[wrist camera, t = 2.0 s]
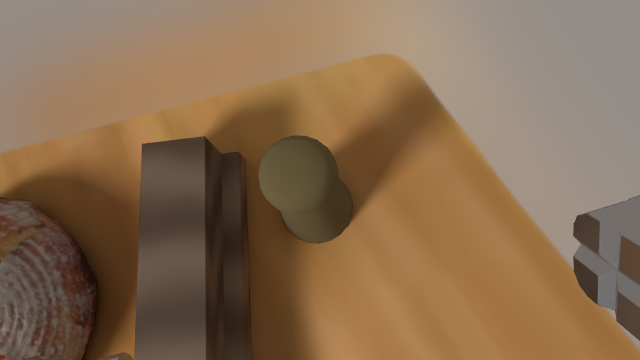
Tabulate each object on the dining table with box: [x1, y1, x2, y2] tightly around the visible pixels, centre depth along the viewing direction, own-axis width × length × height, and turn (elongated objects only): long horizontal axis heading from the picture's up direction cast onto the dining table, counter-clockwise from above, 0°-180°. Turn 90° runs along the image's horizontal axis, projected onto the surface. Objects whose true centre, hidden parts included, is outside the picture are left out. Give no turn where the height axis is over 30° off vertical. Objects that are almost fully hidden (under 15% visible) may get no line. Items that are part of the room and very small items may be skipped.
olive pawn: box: [258, 136, 353, 243], centre depth 34 cm, size 6×6×11 cm
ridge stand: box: [134, 136, 252, 360], centre depth 35 cm, size 26×8×6 cm, turn 5°
